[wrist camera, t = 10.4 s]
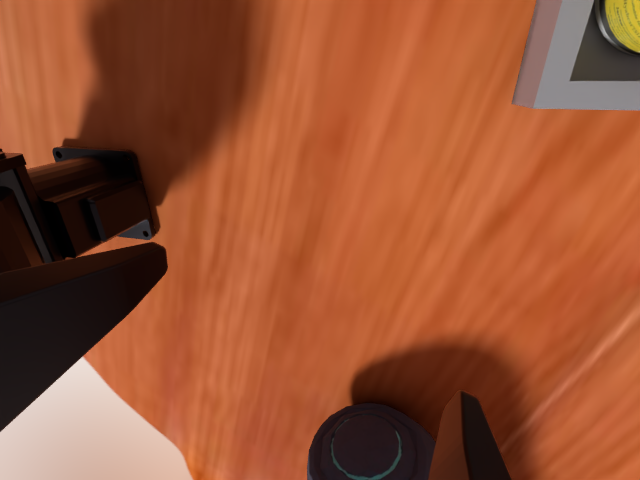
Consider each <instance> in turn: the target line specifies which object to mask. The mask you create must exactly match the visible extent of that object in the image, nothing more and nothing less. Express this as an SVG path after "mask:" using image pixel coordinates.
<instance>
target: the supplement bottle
mask: <svg viewBox="0 0 640 480" xmlns="http://www.w3.org/2000/svg"><path fill="white" fill-rule="evenodd" d="M595 14H596V20H597V23H598V26H599V28H600V30H601V32H602V34H603V36H604V37H605V38H606V40H607V41H608V42H609V43H610V44H612V45H613V46H614V47H615V48H617V49H618V50H620V51H622V52H625V53H627V54H630V55H634V56H640V0H595Z"/></svg>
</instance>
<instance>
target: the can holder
mask: <svg viewBox="0 0 640 480" xmlns="http://www.w3.org/2000/svg"><path fill="white" fill-rule="evenodd" d="M512 104H515V105H519V106H524V107H528V108H533V109H592V110H640V56H634V55H630V54H627V53H625V52H622V51H620V50H618V49H617V48H615V47H614V46H613V45H612V44H610V43H609V42H608V41H607V40H606V38H605V37H604V36H603V34H602V32H601V30H600V28H599V26H598V23H597V20H596V14H595V0H537V1H536V5H535V10H534V14H533V18H532V22H531V26H530V30H529V34H528V38H527V42H526V47H525V51H524V55H523V59H522V63H521V67H520V71H519V75H518V80H517V84H516V88H515V92H514V96H513V100H512Z"/></svg>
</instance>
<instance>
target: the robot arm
mask: <svg viewBox="0 0 640 480" xmlns="http://www.w3.org/2000/svg"><path fill="white" fill-rule="evenodd" d="M53 156H54V158H55V161H56V163H51V164H47V165H43V166H39V167H34V168H30V169H26V167H25V165H26V162H25V159H24V157H23V154H19V153H4V152H3V151H2V149H0V432H1V431H2V430H3V429H4V428H5V427H6V426H7V425H8V424H9V423H11V421H13V419H15V418H16V417H17V416H18V415H19V414H20V413H21V412H23V411H24V410H25V409H26V408H27V407H28V406H29V405H30V404H31V403H32V402H33V401H35V400H36V398H38V397H39V396H40V395H41V394H42V393H43V392H44V391H45V390H46V389H48V388H49V387H50V386H51V385H52V384H53V383H54V382H55V381H56V380H57V379H58V378H60V377H61V376H62V375H63V374H64V373H65V372H66V371H67V370H68V369H69V368H70V367H71V366H73V365H74V364H75V363H76V362H77V361H78V360H79V359H80V358H81V357H82V356H84V355H85V354H86V353H87V352H88V351H89V350H90V349H91V348H92V347H93V346H94V345H96V344H97V343H98V342H99V341H100V340H101V339H102V338H103V337H104V336H105V335H106V334H107V333H109V332H110V331H111V330H112V329H113V328H114V327H115V326H116V325H117V324H118V323H119V322H121V321H122V320H123V319H124V318H125V317H126V316H127V315H128V314H129V313H130V312H131V311H132V310H133V309H134V308H135V307H136V306H137V305H138V304H139V303H140V301H141V300H142V299H143V298H144V297H145V296H146V295H147V294H148V293H149V291H150V290H151V289H152V288H153V287H154V286H155V285H156V284H157V283H158V281H159V280H160V279H161V278H162V277H163V276H164V275H165V273H166V271H167V268H168V264H167V255H166V249H165V248H164V247H163V246H161V245H159V244H157V243H154V242H149V243H145V244H140V245H135V246H130V247H125V248H120V249H115V250H111V251H106V252H101V253H96V254H91V255H86V256H81V257H78V256H80V255H82V254H84V253H85V252H87V251H89V250H91V249H93V248H95V247H96V246H98V245H100V244H102V243H104V242H107V241H109V240H110V239H112V238H114V237H116V236H119V237H127V238H136V239H144V240H150V239H151V238H153V237H154V236H155V229H154V225H153V221H152V217H151V213H150V209H149V205H148V201H147V197H146V193H145V189H144V185H143V181H142V177H141V173H140V169H139V165H138V161H137V157H136V155H135V154H134V152H132V151H131V150H121V149H102V148H83V147H63V146H61V147H56V148H54V149H53ZM127 156H128V157H129V160H128V158H127ZM147 232H148V233H147ZM76 257H77V258H76ZM428 480H512V478H511V475H510V473H509V470H508V468H507V466H506V463H505V461H504V459H503V456H502V454H501V451H500V449H499V447H498V444H497V442H496V439H495V437H494V435H493V432H492V430H491V428H490V425H489V423H488V420H487V418H486V416H485V413H484V411H483V409H482V406H481V404H480V401H479V399H478V398H477V397H476V396H475V395H473V394H471V393H468V392H466V391H464V390H458V391H457V392H456V393H455V395H454V396H453V397H452V398H451V400H450V401H449V402H448V403H447V405H446V406H445V408H444V410H443V413H442V417H441V422H440V427H439V431H438V436H437V440H436V445H435V449H434V454H433V458H432V463H431V467H430V472H429V478H428Z"/></svg>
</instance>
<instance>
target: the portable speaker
mask: <svg viewBox="0 0 640 480" xmlns="http://www.w3.org/2000/svg"><path fill="white" fill-rule="evenodd" d="M435 445H436V442H435V441H434V439H433V438H432V436H431V435H430V434H429V433H428V432H427V431H426V430H425V429H424V428H423V427H422V426H421V425H419V424H418V423H417V422H415V421H414V420H412V419H411V418H409V417H408V416H406V415H405V414H404V413H402V412H399V411H397V410H395V409H393V408H391V407H389V406H387V405H382V404H374V403H363V404H358V405H352V406H347V407H345V408H343V409H342V410H340V411H338V412H336V413H335V414H333V415H331V416H330V417H329V418H328V419H327V420H326V421H325V422H324V423H323V424H322V425H321V426H320V428H319V430H318V431H317V433H316V435H315V436H314V439H313V441H312V444H311V447H310V449H309V455H308V465H307V480H428V478H429V472H430V467H431V463H432V458H433V454H434V449H435Z"/></svg>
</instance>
